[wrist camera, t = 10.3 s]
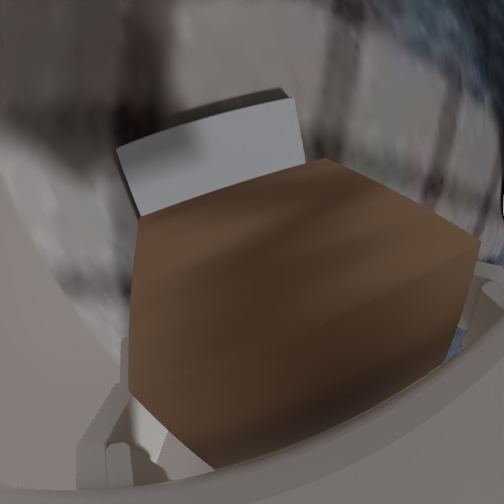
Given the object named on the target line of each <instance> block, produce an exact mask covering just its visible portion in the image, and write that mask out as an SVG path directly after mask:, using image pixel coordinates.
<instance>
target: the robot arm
mask: <svg viewBox="0 0 504 504" xmlns="http://www.w3.org/2000/svg"><path fill="white" fill-rule="evenodd" d="M503 214H504V196H503ZM457 327H459V328H462V329H464V330H466V332H465V335H464V337H463V340H462V346H463V347H464V349H463V350H462V351H461V352H459V353H458V354H457V355H455V356H454V357H453V358H451V359H450V360H449V361H447V362H446V363H445V364H443V365H442V366H440V367H439V368H438V369H436V370H435V371H433V372H432V373H430V374H429V375H428V376H426V377H425V378H423V379H422V380H420V381H419V382H417V383H415V384H414V385H412V386H411V387H409V388H408V389H406V390H404V391H403V392H401V393H400V394H398V395H396V396H395V397H393V398H391V399H389V400H388V401H386V402H384V403H383V404H381V405H379V406H377V407H375V408H374V409H372V410H370V411H368V412H366V413H364V414H362V415H360V416H359V417H357V418H355V419H353V420H351V421H349V422H347V423H345V424H343V425H340V426H338V427H336V428H334V429H332V430H330V431H328V432H325V433H323V434H321V435H319V436H316V437H314V438H312V439H309V440H307V441H305V442H302V443H300V444H297V445H295V446H292V447H289V448H287V449H284V450H281V451H279V452H276V453H273V454H270V455H267V456H265V457H262V458H259V459H256V460H252V461H249V462H246V463H243V464H239V465H236V466H233V467H229V468H225V469H222V470H218V471H214V472H210V473H206V474H202V475H197V476H193V477H188V478H183V479H178V480H175V478H174V475H173V474H172V473H170V472H168V471H167V470H165V469H163V468H162V467H160V466H159V465H157V464H156V462H157V459H158V456H159V453H160V450H161V448H162V445H163V442H164V440H165V437H166V434H167V431H168V430H167V429H166V428H165V427H164V426H163V425H162V424H161V423H160V422H159V421H158V420H157V419H156V418H155V417H154V416H153V415H152V414H151V413H150V412H148V411H147V410H146V409H145V407H144V406H143V405H142V404H141V403H140V402H139V401H138V400H137V399H136V398H135V397H134V396H133V395H132V394H131V393H130V392H129V391H128V348H129V337H125V338H123V340H122V341H121V356H120V383H117V384H115V386H114V387H113V388H112V390H111V392H110V393H109V395H108V396H107V398H106V400H105V401H104V403H103V405H102V406H101V408H100V409H99V411H98V412H97V414H96V416H95V418H94V419H93V421H92V422H91V424H90V426H89V427H88V429H87V431H86V432H85V434H84V436H83V437H82V439H81V441H80V442H79V444H78V445H77V447H76V485H77V490H52V489H34V488H23V487H13V486H6V485H0V504H504V267H501V266H497V265H492V264H488V263H484V262H479V261H477V262H476V266H475V270H474V274H473V278H472V282H471V285H470V289H469V292H468V296H467V299H466V302H465V305H464V309H463V312H462V315H461V318H460V321H459V324H458V326H457Z"/></svg>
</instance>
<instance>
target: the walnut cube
mask: <svg viewBox="0 0 504 504" xmlns="http://www.w3.org/2000/svg"><path fill="white" fill-rule="evenodd" d="M480 244H481V241H480V240H478V239H477V238H475V237H473V236H472V235H470V234H469V233H467V232H466V231H464V230H462V229H461V228H459V227H458V226H456V225H454V224H453V223H451V222H449V221H448V220H446V219H444V218H443V217H441V216H439V215H438V214H436V213H434V212H432V211H431V210H429V209H427V208H425V207H424V206H422V205H420V204H418V203H416V202H414V201H413V200H411V199H409V198H407V197H405V196H403V195H401V194H400V193H398V192H396V191H394V190H392V189H390V188H388V187H386V186H384V185H382V184H380V183H378V182H376V181H374V180H372V179H370V178H368V177H366V176H364V175H362V174H359V173H357V172H355V171H353V170H351V169H349V168H346V167H344V166H342V165H340V164H338V163H335V162H333V161H331V160H328V159H326V158H323V159H320V160H316V161H312V162H308V163H305V164H301V165H297V166H294V167H290V168H287V169H283V170H280V171H276V172H273V173H269V174H266V175H263V176H259V177H256V178H253V179H249V180H246V181H243V182H240V183H237V184H233V185H230V186H227V187H224V188H221V189H218V190H215V191H212V192H209V193H206V194H203V195H200V196H197V197H194V198H191V199H188V200H185V201H183V202H180V203H177V204H174V205H171V206H169V207H166V208H163V209H160V210H158V211H155V212H152V213H150V214H147V215H144V216H142V217H140V218H139V225H138V232H137V240H136V248H135V257H134V267H133V277H132V289H131V303H130V320H129V348H128V391H129V392H130V393H131V394H132V395H133V396H134V397H135V398H136V399H137V400H138V401H139V402H140V403H141V404H142V405H143V406H144V407H145V409H146V410H147V411H148V412H150V413H151V414H152V415H153V416H154V417H155V418H156V419H157V420H158V421H159V422H160V423H161V424H162V425H163V426H164V427H165V428H166V429H167V430H169V432H171V433H172V434H173V435H174V436H175V437H176V438H177V439H178V440H180V441H181V442H182V443H183V444H184V445H185V446H186V447H188V448H189V449H190V450H191V451H192V452H194V453H195V454H196V455H197V456H198V457H200V458H201V459H202V460H203V461H205V462H206V463H207V464H208V465H210V466H211V467H212V468H213V469H215V470H216V471H218V470H222V469H225V468H229V467H233V466H236V465H239V464H243V463H246V462H249V461H252V460H256V459H259V458H262V457H265V456H267V455H270V454H273V453H276V452H279V451H281V450H284V449H287V448H289V447H292V446H295V445H297V444H300V443H302V442H305V441H307V440H309V439H312V438H314V437H316V436H319V435H321V434H323V433H325V432H328V431H330V430H332V429H334V428H336V427H338V426H340V425H343V424H345V423H347V422H349V421H351V420H353V419H355V418H357V417H359V416H360V415H362V414H364V413H366V412H368V411H370V410H372V409H374V408H375V407H377V406H379V405H381V404H383V403H384V402H386V401H388V400H389V399H391V398H393V397H395V396H396V395H398V394H400V393H401V392H403V391H404V390H406V389H408V388H409V387H411V386H412V385H414V384H415V383H417V382H419V381H420V380H422V379H423V378H425V377H426V376H428V375H429V374H430V373H432V372H433V371H435V370H436V369H438V368H439V367H440V366H442V365H443V362H444V360H445V358H446V355H447V353H448V350H449V348H450V345H451V343H452V340H453V337H454V335H455V332H456V329H457V326H458V324H459V321H460V318H461V315H462V312H463V309H464V305H465V302H466V299H467V296H468V292H469V289H470V285H471V282H472V278H473V274H474V270H475V266H476V262H477V258H478V253H479V248H480Z"/></svg>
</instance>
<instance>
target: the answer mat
mask: <svg viewBox="0 0 504 504" xmlns="http://www.w3.org/2000/svg"><path fill="white" fill-rule="evenodd" d="M116 152H117V154H118V157H119V160H120V163H121V166H122V168H123V171H124V174H125V176H126V179H127V182H128V184H129V187H130V190H131V192H132V195H133V197H134V200H135V202H136V205H137V208H138V210H139V212H140V215H141V217H142V216H144V215H147V214H150V213H152V212H155V211H158V210H160V209H163V208H166V207H169V206H171V205H174V204H177V203H180V202H183V201H185V200H188V199H191V198H194V197H197V196H200V195H203V194H206V193H209V192H212V191H215V190H218V189H221V188H224V187H227V186H230V185H233V184H237V183H240V182H243V181H246V180H249V179H253V178H256V177H259V176H263V175H266V174H269V173H273V172H276V171H280V170H283V169H287V168H290V167H294V166H297V165H301V164H305V163H306V162H305V156H304V150H303V144H302V138H301V133H300V127H299V122H298V116H297V111H296V106H295V101H294V98H293V97H288V98H283V99H278V100H273V101H268V102H263V103H259V104H255V105H250V106H246V107H242V108H238V109H234V110H230V111H226V112H222V113H219V114H215V115H211V116H208V117H204V118H201V119H198V120H194V121H191V122H188V123H184V124H181V125H178V126H175V127H172V128H169V129H166V130H163V131H160V132H157V133H155V134H152V135H149V136H146V137H143V138H141V139H138V140H135V141H133V142H130V143H128V144H125V145H123V146H120V147H118V148H117V149H116Z"/></svg>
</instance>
